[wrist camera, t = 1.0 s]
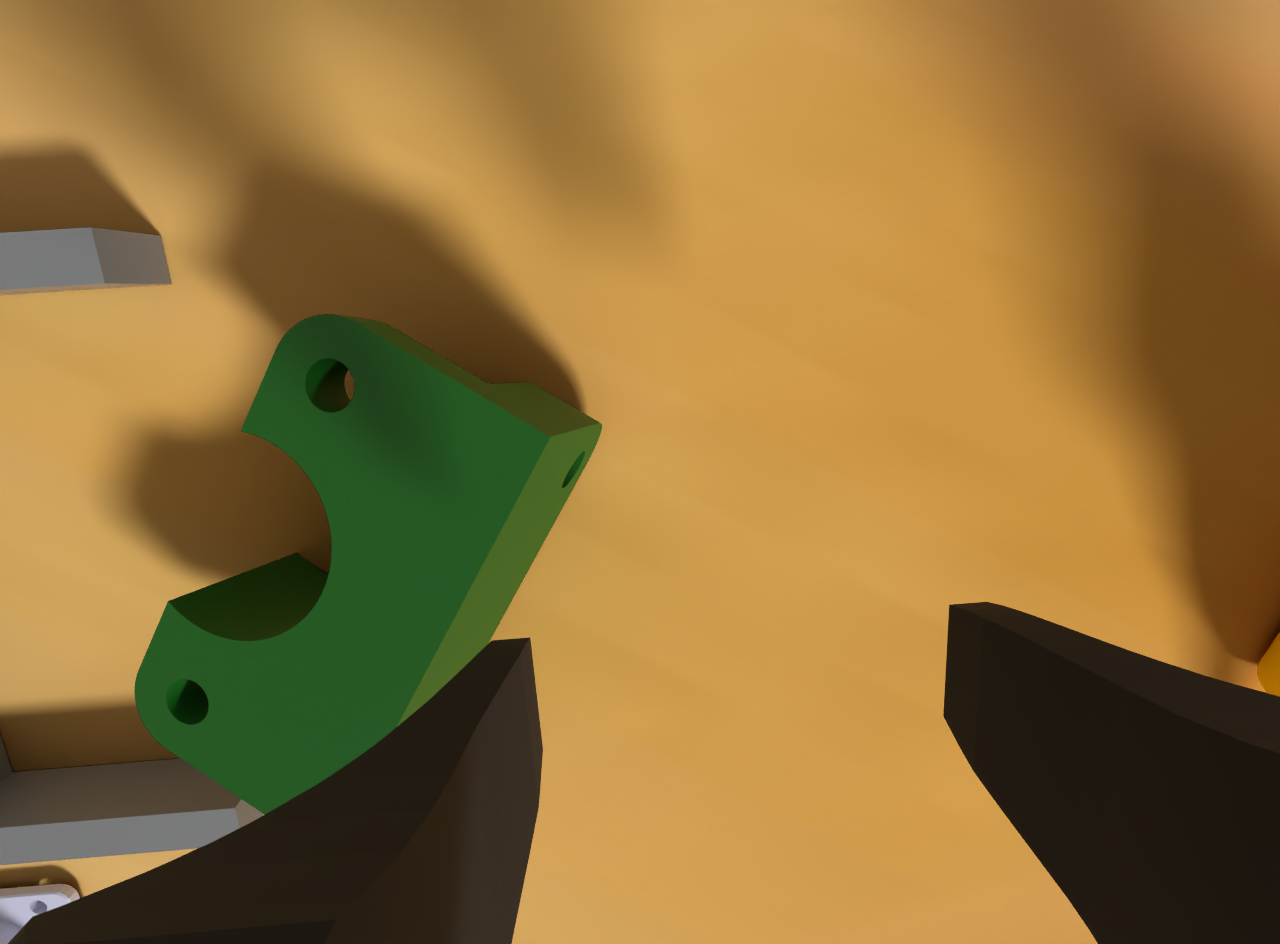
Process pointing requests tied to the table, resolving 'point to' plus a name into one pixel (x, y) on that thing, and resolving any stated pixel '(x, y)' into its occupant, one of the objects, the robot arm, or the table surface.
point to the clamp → (362, 559)
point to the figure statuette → (1270, 668)
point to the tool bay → (113, 793)
